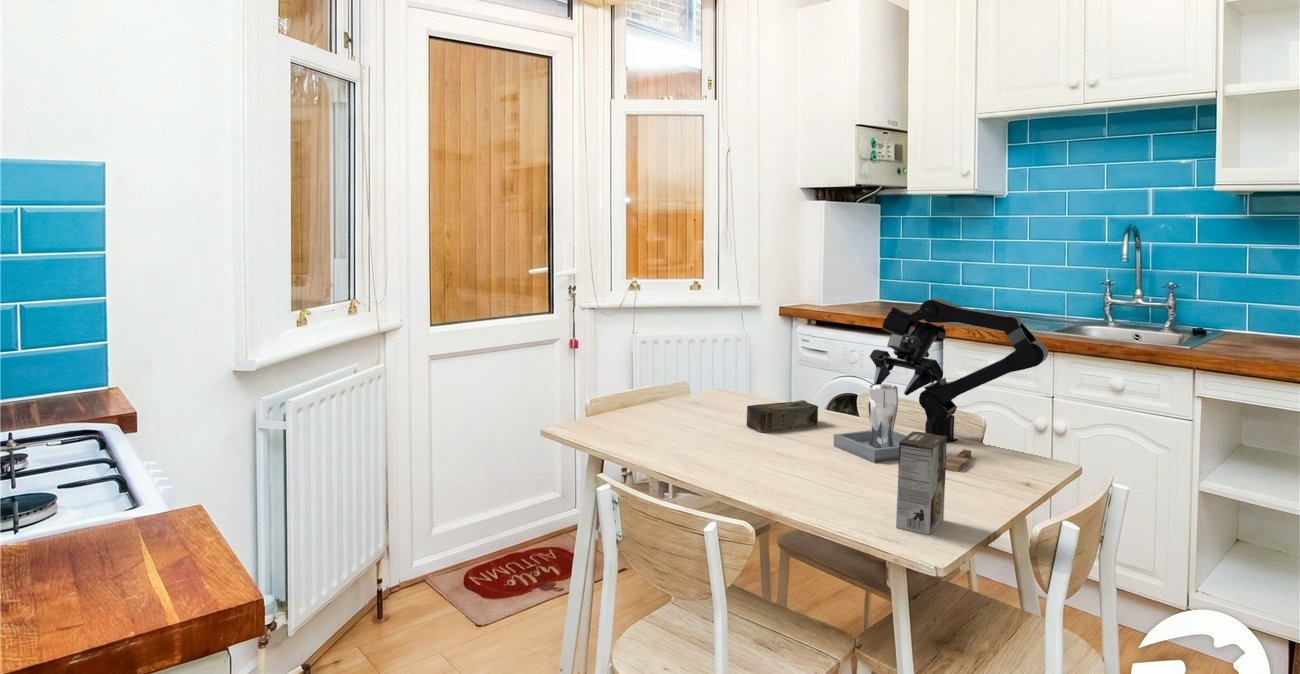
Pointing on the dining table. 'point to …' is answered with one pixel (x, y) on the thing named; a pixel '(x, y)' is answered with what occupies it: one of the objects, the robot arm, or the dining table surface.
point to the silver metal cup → (882, 414)
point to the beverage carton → (781, 416)
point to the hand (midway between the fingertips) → (889, 390)
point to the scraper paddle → (958, 461)
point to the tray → (860, 447)
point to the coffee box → (921, 482)
